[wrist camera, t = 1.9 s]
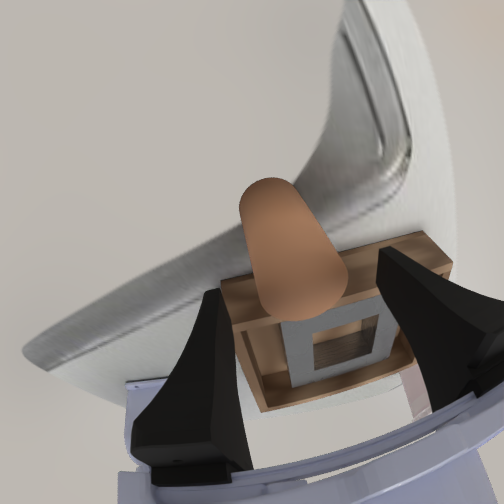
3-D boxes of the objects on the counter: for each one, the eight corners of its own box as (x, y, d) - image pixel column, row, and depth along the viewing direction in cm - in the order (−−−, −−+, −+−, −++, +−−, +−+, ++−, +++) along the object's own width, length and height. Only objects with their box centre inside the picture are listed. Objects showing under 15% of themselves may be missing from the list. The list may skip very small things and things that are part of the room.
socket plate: (285, 364, 29) (292, 387, 26) (272, 294, 23) (280, 322, 20) (377, 337, 29) (388, 358, 26) (390, 263, 23) (406, 286, 21)
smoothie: (377, 368, 34) (417, 461, 23) (412, 336, 31) (463, 431, 20) (403, 371, 36) (440, 452, 25) (435, 342, 34) (480, 424, 22)
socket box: (254, 376, 30) (261, 412, 27) (220, 280, 22) (225, 326, 18) (400, 334, 30) (417, 364, 27) (422, 230, 22) (453, 262, 19)
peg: (245, 239, 20) (266, 329, 14) (233, 185, 18) (250, 264, 12) (303, 226, 20) (347, 308, 14) (296, 171, 18) (348, 240, 12)
